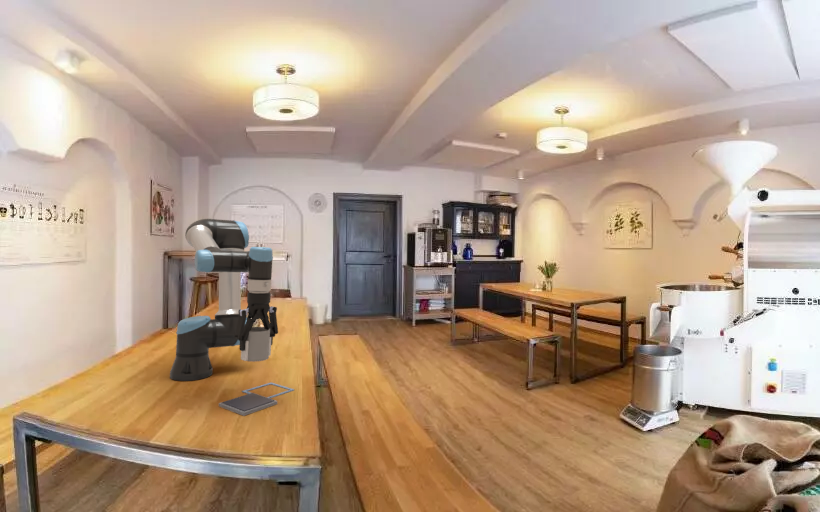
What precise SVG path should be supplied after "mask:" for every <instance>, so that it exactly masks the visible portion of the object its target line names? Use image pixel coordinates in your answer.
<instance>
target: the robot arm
mask: <svg viewBox="0 0 820 512" xmlns="http://www.w3.org/2000/svg"><path fill="white" fill-rule="evenodd" d="M248 230H249V229H248V226H247V225H246V224H245V223H244V221H238V220H235V219H234V220H229V219H217V218H216V219H215V218H202V219H198V220H195V221H194V222H192V223H191V224H189V226H188V227H187V228H186V229H185V239H186V241H187V243H188V245H190V246H191V247H193V249H194V251H195V253H194V268H195V270H196V271H197V272H201V273H218V311H217V312H216V313H215V314H214V318H213V319H211V317H210V316H209V315H197V316H191V317H187V318H186V317H185V318H183V319H182V320H180V321H179V322H178V323H177V327H176V328H177V329H176V344H175V345H176V346H175V347H176V348H175V358H174V361H173V363H172V366H171V369H170V372H169V379H171V380H172V381H173V380H174V381H180V382H188V381H189V382H190V381H198V380H202V379H206V378H208V377H210V376H212V375H213V369H214V368H213V365H212V362H211V360H210V356H209V355H210V353H209V350H210V349H213V348H225V347H236V346H239V348H238V349H239V351H240V360H242V361H244V362H249V361H248V344H249V341H246V340H247V338H248V335H249V331H251V328H252V327H254V324H255V323H256V321H257V320H259V319H260V320H261V323H262V325H263V326H262V327H264V328H265V329H266V330H269V328H270V342H269V357H271V351H272V346H273V343H274V341H273V340H274V338H275V337H276V335H277V334H279V328H278V319H277V310H278V308H277V306H270V303H271V294H272V293H271V292H270V291H271V290H272V277H273V276H272V272H273V259H274V257H273V249H272V247H267V246H266V247H265V246H251V247H250V248H249V251H245V249H246V248H248V246H249V242H250V234H249V231H248ZM241 273H248V278H247V291H248V292H247V295H246V297H247V298H246V303H247V307H246V308H245V309H242V308H241V307H242V305H241V304H242V303H241V300H242V297H241V295H242V289H241V288H242V287H241V286H242V285H241V284H242V283H241V281H242V278H241Z"/></svg>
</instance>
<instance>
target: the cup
mask: <svg viewBox="0 0 820 512" xmlns="http://www.w3.org/2000/svg"><path fill="white" fill-rule="evenodd" d="M246 341H249V344H248V361H247V362H254V363H255V362H262V361H266V360H268V359H269V358H270V356H269V342H270V328H269V330H266V329H265V328H264V326H252V328H251V331H249V335H248V338H247V340H246Z"/></svg>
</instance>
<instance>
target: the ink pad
mask: <svg viewBox="0 0 820 512" xmlns="http://www.w3.org/2000/svg"><path fill="white" fill-rule="evenodd" d="M267 397H268V396H264V395H261V394H258V393H255V392H251V393H250V394H247V393H246V394H244V395H241V396H238V397H235V398H231V399H228V400H224V401H222V402H219V403H218V407H219V408H221V409H225V410H227V411H230V412H232V413H235V414H238V415H240V416H243V417H245V416H247V415H250V414H253V413H256V412H259V411H261V410H265V409H267V408H270V407H272V406H276V405H278V400H275V399H273V398H267Z"/></svg>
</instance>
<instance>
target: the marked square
mask: <svg viewBox="0 0 820 512" xmlns="http://www.w3.org/2000/svg"><path fill="white" fill-rule="evenodd" d="M266 386H267V387H268V386H276V387H278V388H281V389H285V390H284V391H282V392H280V393H276V394H273V395H270V396H266V397H267V398H270V399H273V398H276V397H278V396H279V397H280V396H281V395H285V394H287V393H290V392H294V391H295V388H290V387H288V386H285V385H281V384H277V383H274V382H267V383H264V384H262V385H257V386H255V387H251V388H248V389H244V390H241V392H242V393H243V394H244V393H245V394H246V395H247V394H250V393H252V392H251V391H254V390H257V389H260V388H264V387H266Z"/></svg>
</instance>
